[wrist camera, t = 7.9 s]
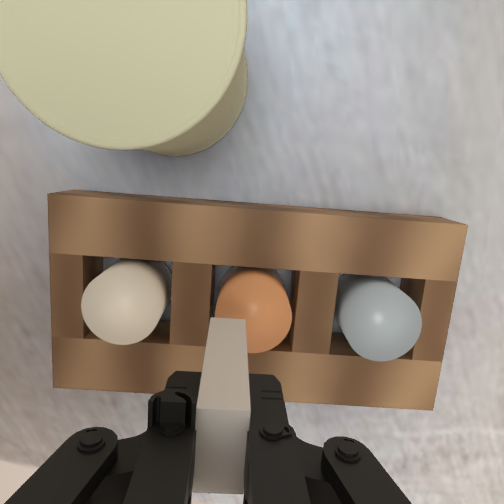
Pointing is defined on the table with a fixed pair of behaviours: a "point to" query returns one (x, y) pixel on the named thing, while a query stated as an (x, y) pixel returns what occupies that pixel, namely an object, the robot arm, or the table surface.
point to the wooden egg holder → (260, 256)
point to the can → (128, 69)
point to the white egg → (127, 300)
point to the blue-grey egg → (376, 317)
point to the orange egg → (256, 305)
